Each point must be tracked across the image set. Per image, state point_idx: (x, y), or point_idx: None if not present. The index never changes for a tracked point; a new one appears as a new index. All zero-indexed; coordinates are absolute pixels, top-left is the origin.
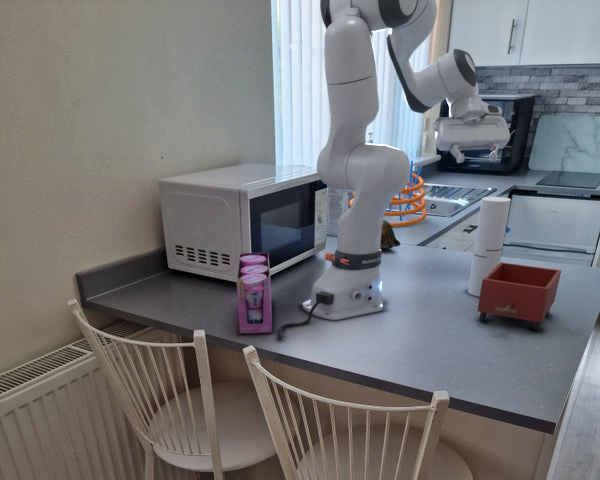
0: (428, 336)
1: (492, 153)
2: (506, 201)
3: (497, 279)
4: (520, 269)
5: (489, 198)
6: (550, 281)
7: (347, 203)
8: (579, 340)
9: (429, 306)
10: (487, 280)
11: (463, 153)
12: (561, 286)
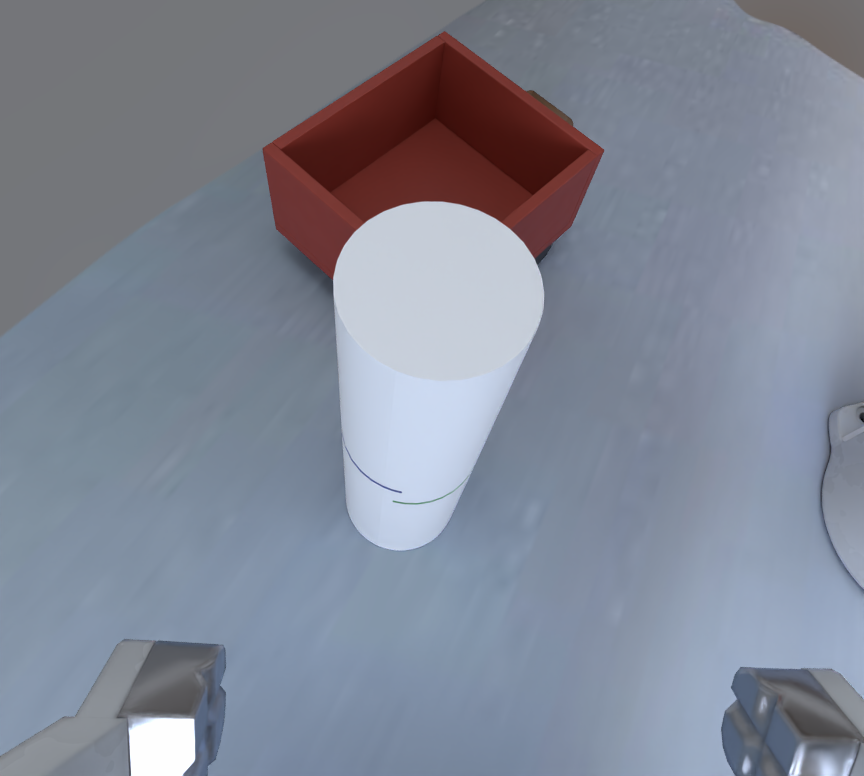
0: (722, 212)
1: (189, 694)
2: (414, 203)
3: None
4: None
5: (477, 318)
6: (392, 73)
7: None
8: None
9: (657, 411)
10: (590, 141)
11: (806, 742)
12: (7, 477)
